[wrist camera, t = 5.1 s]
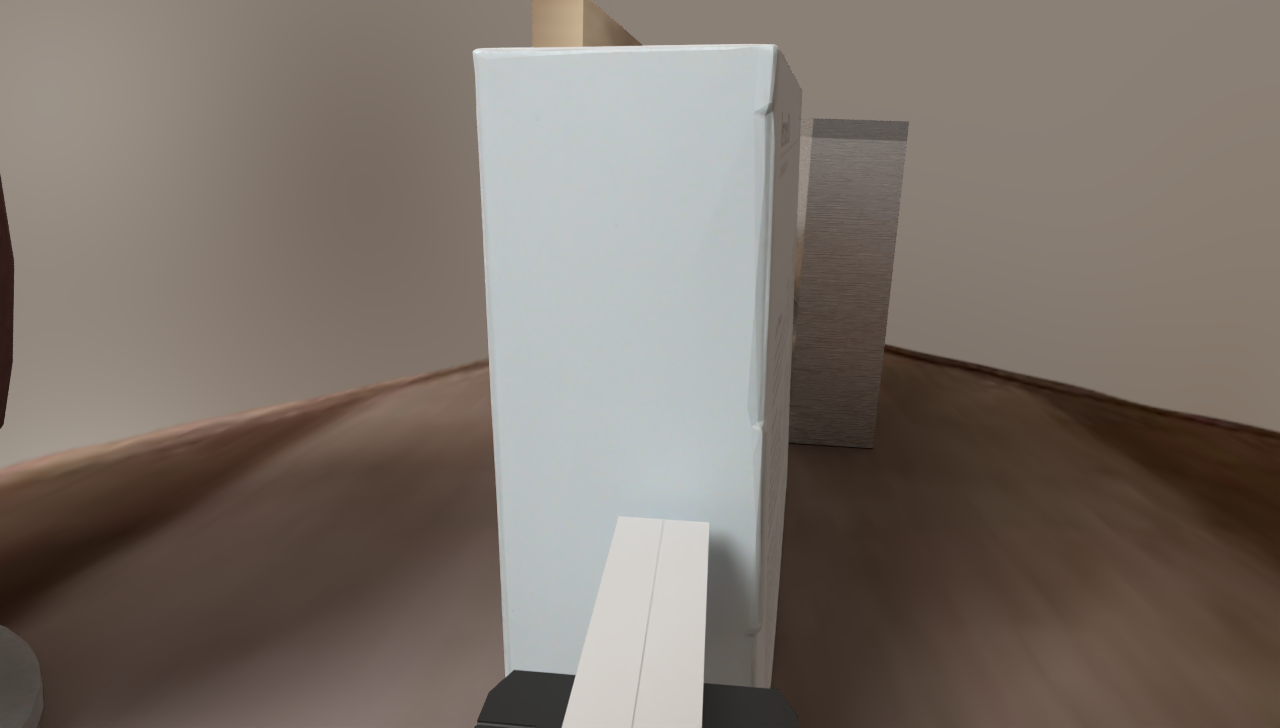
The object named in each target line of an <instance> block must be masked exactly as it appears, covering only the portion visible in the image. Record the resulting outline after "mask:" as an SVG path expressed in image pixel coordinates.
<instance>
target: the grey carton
mask: <svg viewBox="0 0 1280 728" xmlns="http://www.w3.org/2000/svg"><path fill="white" fill-rule="evenodd" d="M908 126H909V122H906V121H905V122H904V121H875V120H844V119H843V120H842V119H801V134H800V160H799V186H798V210H797V233H796V250H795V275H794V305H793V333H792V357H791V381H790V406H789V437H788V443H799V444H814V445H830V446H845V447H861V448H873V445H874V436H875V427H876V417H877V408H878V399H879V390H880V381H881V372H882V363H883V354H884V345H885V335H886V326H887V317H888V308H889V299H890V290H891V281H892V272H893V262H894V253H895V244H896V235H897V226H898V216H899V207H900V198H901V190H902V180H903V171H904V162H905V152H906V144H907V135H908Z"/></svg>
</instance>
